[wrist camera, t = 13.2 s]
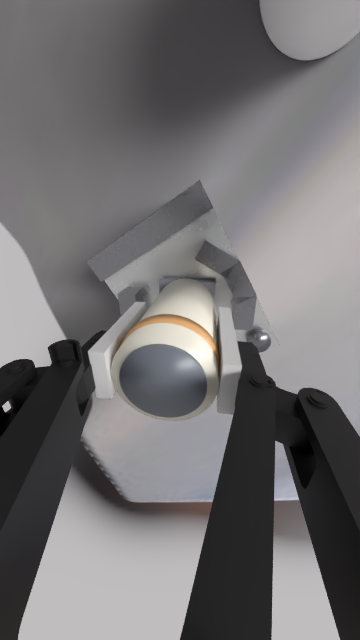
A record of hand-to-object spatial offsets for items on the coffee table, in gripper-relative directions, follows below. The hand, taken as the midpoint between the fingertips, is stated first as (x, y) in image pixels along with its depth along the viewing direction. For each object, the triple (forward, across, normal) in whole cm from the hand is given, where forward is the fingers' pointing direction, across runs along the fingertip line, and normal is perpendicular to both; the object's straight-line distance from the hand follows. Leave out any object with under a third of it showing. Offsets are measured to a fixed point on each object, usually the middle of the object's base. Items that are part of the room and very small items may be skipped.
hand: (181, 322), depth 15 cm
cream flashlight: (+4, 0, 0) cm, 4 cm away
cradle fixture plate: (+9, 0, 0) cm, 9 cm away
